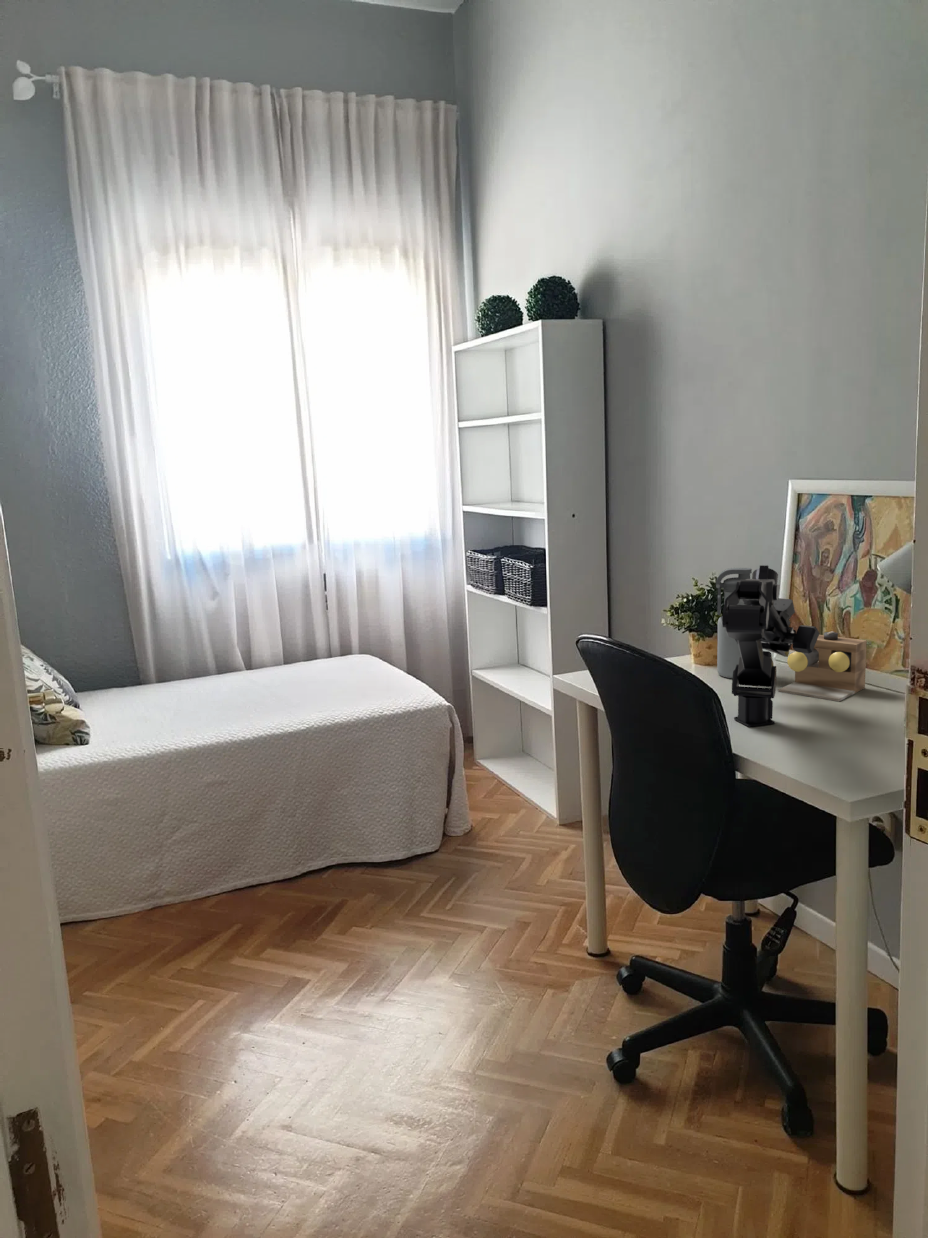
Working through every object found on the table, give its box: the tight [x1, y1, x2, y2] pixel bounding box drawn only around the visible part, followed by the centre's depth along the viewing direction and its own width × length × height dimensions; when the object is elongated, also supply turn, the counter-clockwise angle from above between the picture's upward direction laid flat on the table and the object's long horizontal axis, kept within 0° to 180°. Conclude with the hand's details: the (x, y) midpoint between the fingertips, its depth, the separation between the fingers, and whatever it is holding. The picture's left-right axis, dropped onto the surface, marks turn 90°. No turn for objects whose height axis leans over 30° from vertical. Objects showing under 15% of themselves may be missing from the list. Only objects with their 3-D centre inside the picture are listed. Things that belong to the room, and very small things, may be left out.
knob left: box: [787, 648, 819, 672], centre depth 233 cm, size 8×5×5 cm, turn 135°
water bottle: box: [715, 567, 753, 679], centre depth 248 cm, size 10×10×28 cm
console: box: [778, 630, 868, 702], centre depth 232 cm, size 14×15×14 cm
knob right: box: [829, 651, 851, 672], centre depth 231 cm, size 8×5×5 cm, turn 135°
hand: (786, 655), depth 227 cm, fingers closed
